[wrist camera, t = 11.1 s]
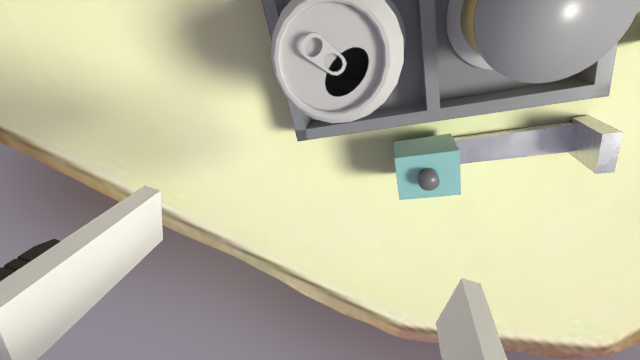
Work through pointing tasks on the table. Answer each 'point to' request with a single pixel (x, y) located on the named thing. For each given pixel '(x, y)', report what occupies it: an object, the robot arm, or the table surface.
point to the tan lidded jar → (544, 34)
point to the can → (337, 56)
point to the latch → (427, 167)
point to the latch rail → (548, 143)
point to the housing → (447, 76)
